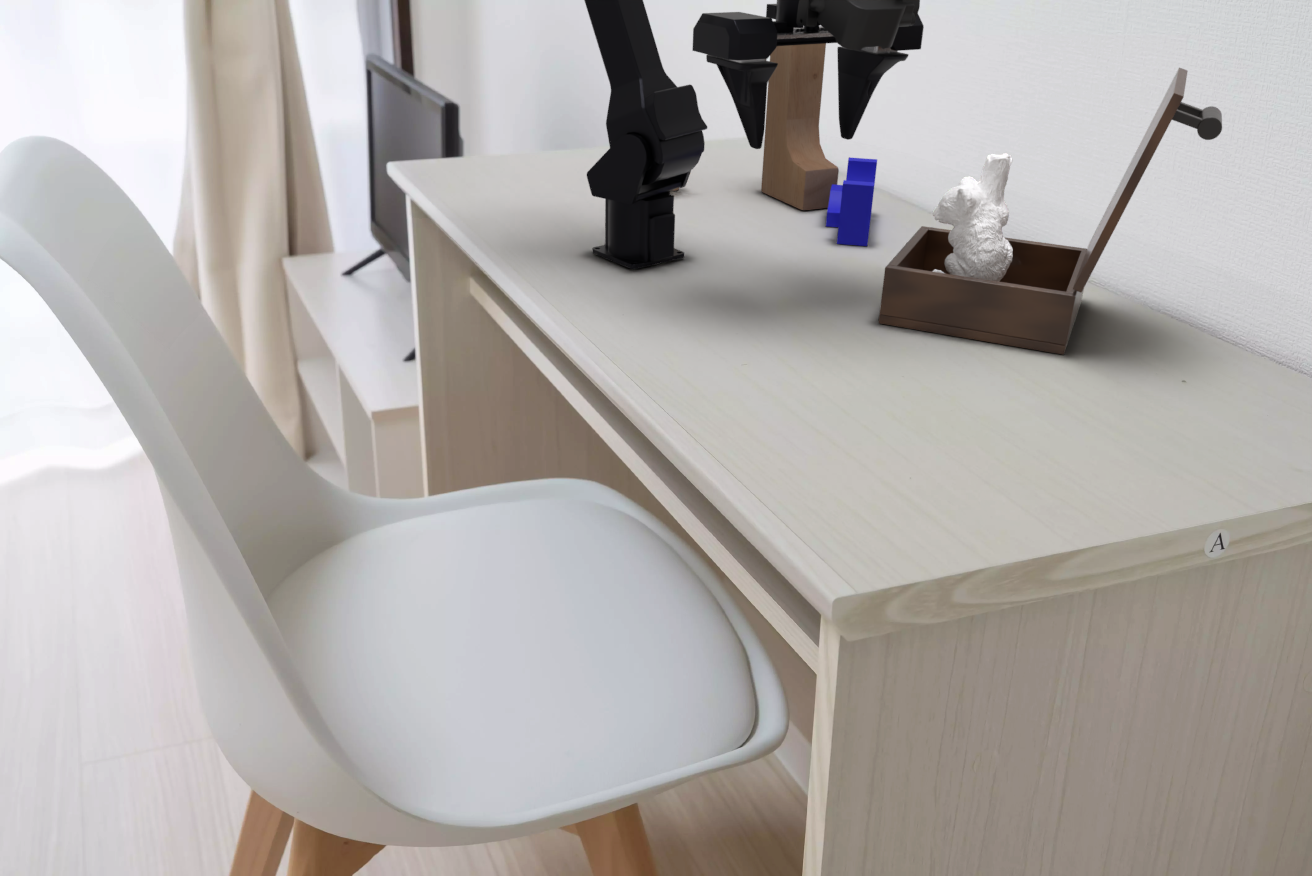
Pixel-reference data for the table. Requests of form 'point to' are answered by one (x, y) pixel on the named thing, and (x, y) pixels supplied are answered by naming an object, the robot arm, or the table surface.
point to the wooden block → (796, 130)
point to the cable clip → (853, 202)
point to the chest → (985, 294)
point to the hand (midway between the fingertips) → (802, 143)
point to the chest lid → (1169, 109)
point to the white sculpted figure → (978, 222)
